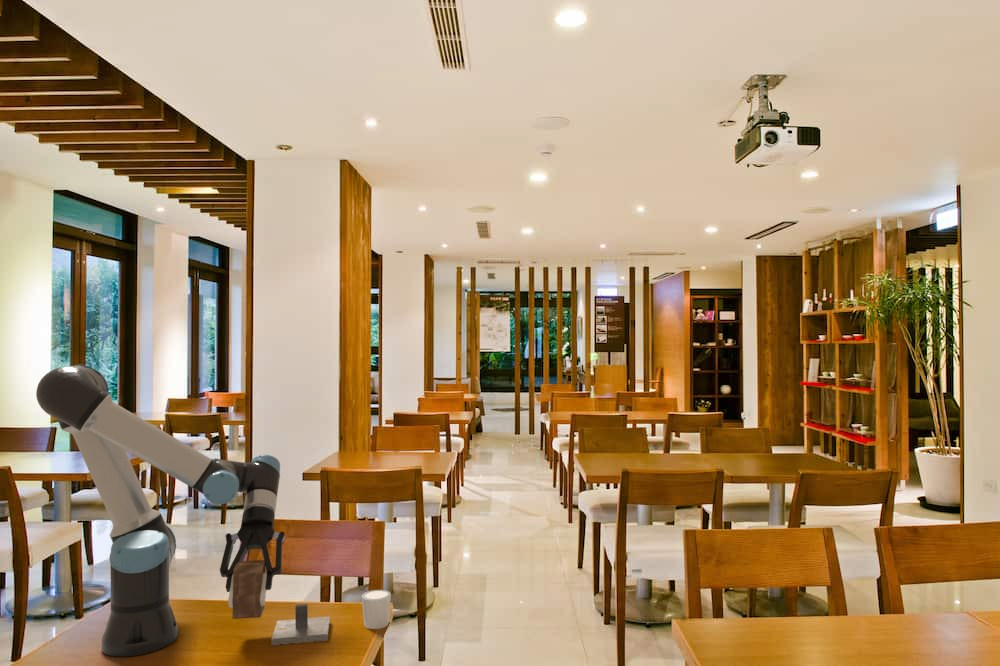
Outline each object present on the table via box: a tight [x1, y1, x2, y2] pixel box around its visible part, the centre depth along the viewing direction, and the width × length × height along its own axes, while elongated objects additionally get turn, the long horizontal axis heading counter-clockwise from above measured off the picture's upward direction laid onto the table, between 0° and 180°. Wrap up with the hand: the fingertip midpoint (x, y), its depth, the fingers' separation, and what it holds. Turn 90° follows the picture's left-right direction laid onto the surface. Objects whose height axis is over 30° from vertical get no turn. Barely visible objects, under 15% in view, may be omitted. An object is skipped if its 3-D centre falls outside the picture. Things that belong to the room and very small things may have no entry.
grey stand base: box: [271, 603, 331, 646], centre depth 158 cm, size 12×10×6 cm
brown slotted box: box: [231, 559, 266, 620], centre depth 157 cm, size 6×6×11 cm
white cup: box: [361, 589, 392, 630], centre depth 163 cm, size 7×7×7 cm
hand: (246, 603), depth 153 cm, fingers closed on brown slotted box, 6 cm apart
